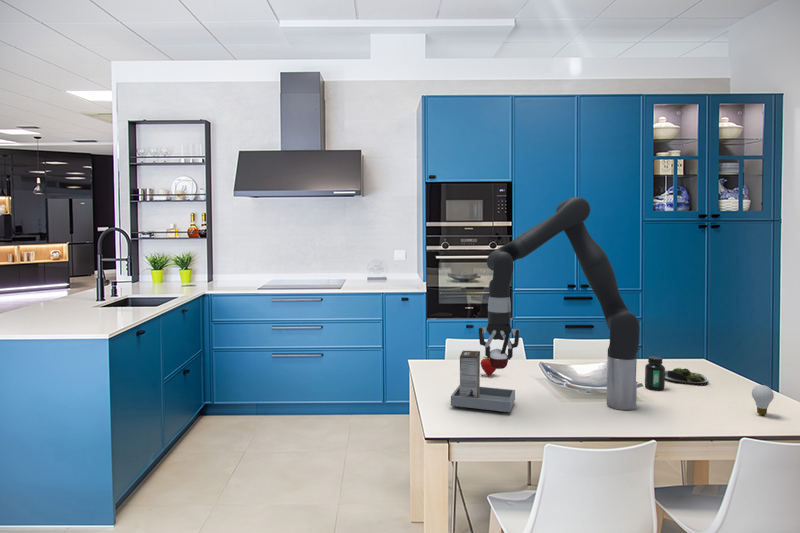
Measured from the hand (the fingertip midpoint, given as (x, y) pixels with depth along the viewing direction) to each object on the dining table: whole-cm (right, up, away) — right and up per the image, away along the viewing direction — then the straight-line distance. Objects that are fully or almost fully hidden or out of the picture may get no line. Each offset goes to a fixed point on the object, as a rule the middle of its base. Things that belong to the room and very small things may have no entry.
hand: (498, 358), depth 174 cm
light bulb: (+85, -18, -7) cm, 87 cm away
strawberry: (+4, -15, +40) cm, 43 cm away
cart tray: (-5, -17, +3) cm, 18 cm away
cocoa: (0, -3, 0) cm, 3 cm away
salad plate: (+82, -15, +35) cm, 90 cm away
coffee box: (-9, -15, +4) cm, 18 cm away
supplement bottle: (+64, -16, +22) cm, 70 cm away
